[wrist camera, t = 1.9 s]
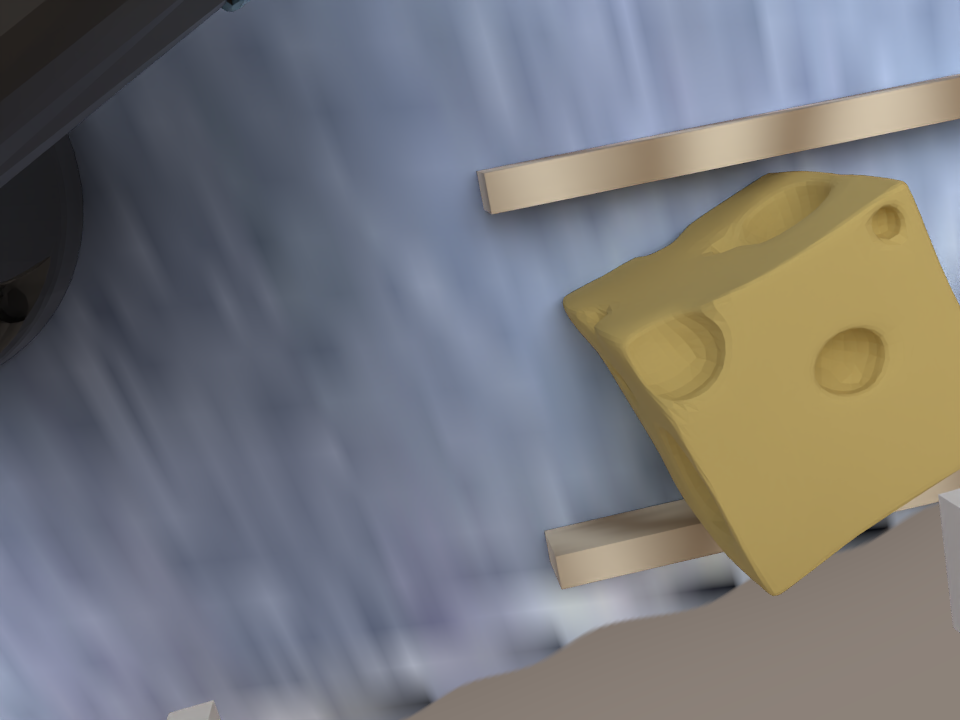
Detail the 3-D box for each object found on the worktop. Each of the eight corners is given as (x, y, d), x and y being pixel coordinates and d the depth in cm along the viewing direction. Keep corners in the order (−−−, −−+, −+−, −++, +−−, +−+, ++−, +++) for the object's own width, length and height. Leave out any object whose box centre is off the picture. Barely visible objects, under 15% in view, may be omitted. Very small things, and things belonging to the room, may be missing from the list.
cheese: (552, 298, 36) (616, 354, 27) (779, 154, 36) (926, 159, 26) (672, 495, 39) (769, 611, 29) (884, 363, 39) (1053, 437, 29)
